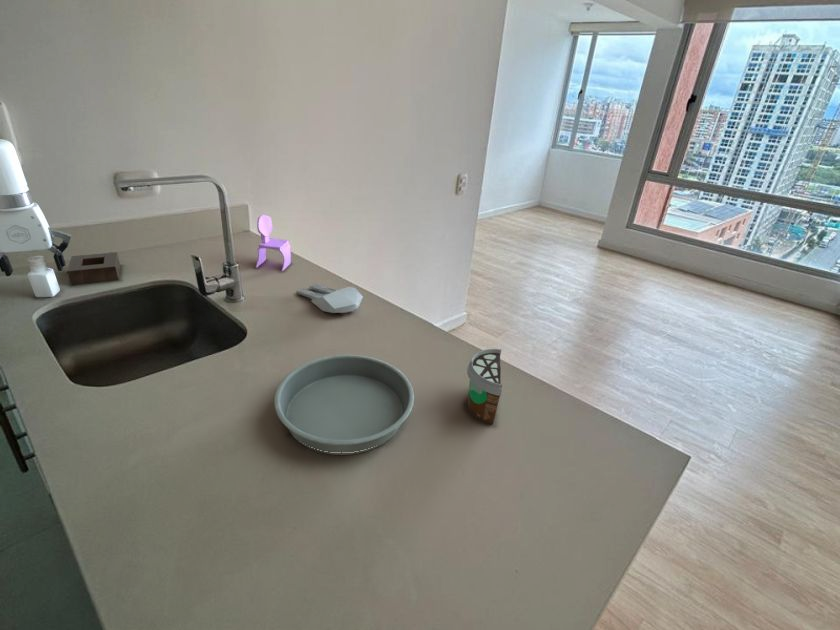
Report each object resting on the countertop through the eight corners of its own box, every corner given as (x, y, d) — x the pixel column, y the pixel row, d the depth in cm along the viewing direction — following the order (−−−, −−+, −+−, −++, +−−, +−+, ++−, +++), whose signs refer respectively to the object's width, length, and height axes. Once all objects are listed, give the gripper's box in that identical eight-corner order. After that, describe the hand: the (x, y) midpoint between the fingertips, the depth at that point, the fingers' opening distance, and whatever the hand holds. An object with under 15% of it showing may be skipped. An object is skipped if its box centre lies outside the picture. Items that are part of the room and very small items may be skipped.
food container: (463, 383, 93) (470, 343, 88) (493, 388, 92) (501, 347, 87) (459, 424, 82) (466, 381, 77) (493, 429, 81) (502, 386, 77)
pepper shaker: (34, 298, 107) (20, 261, 103) (43, 290, 111) (29, 255, 106) (54, 297, 108) (40, 261, 104) (61, 290, 112) (49, 254, 107)
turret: (321, 292, 127) (319, 276, 125) (370, 308, 115) (369, 290, 113) (291, 303, 120) (289, 286, 118) (341, 321, 108) (339, 303, 106)
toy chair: (282, 272, 131) (279, 223, 124) (254, 268, 132) (248, 219, 124) (293, 262, 138) (290, 214, 131) (266, 258, 139) (261, 211, 132)
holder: (71, 285, 114) (66, 271, 112) (76, 269, 122) (71, 256, 120) (119, 280, 119) (115, 266, 117) (120, 265, 126) (116, 252, 124)
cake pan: (428, 389, 90) (430, 371, 88) (382, 482, 69) (383, 462, 67) (319, 359, 96) (318, 342, 93) (246, 437, 75) (243, 417, 73)
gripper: (-49, 206, 91) (-17, 282, 99) (56, 202, 99) (78, 273, 107) (-38, 196, 97) (-8, 269, 105) (61, 193, 104) (82, 261, 113)
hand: (36, 271), depth 106 cm, fingers open, 9 cm apart
